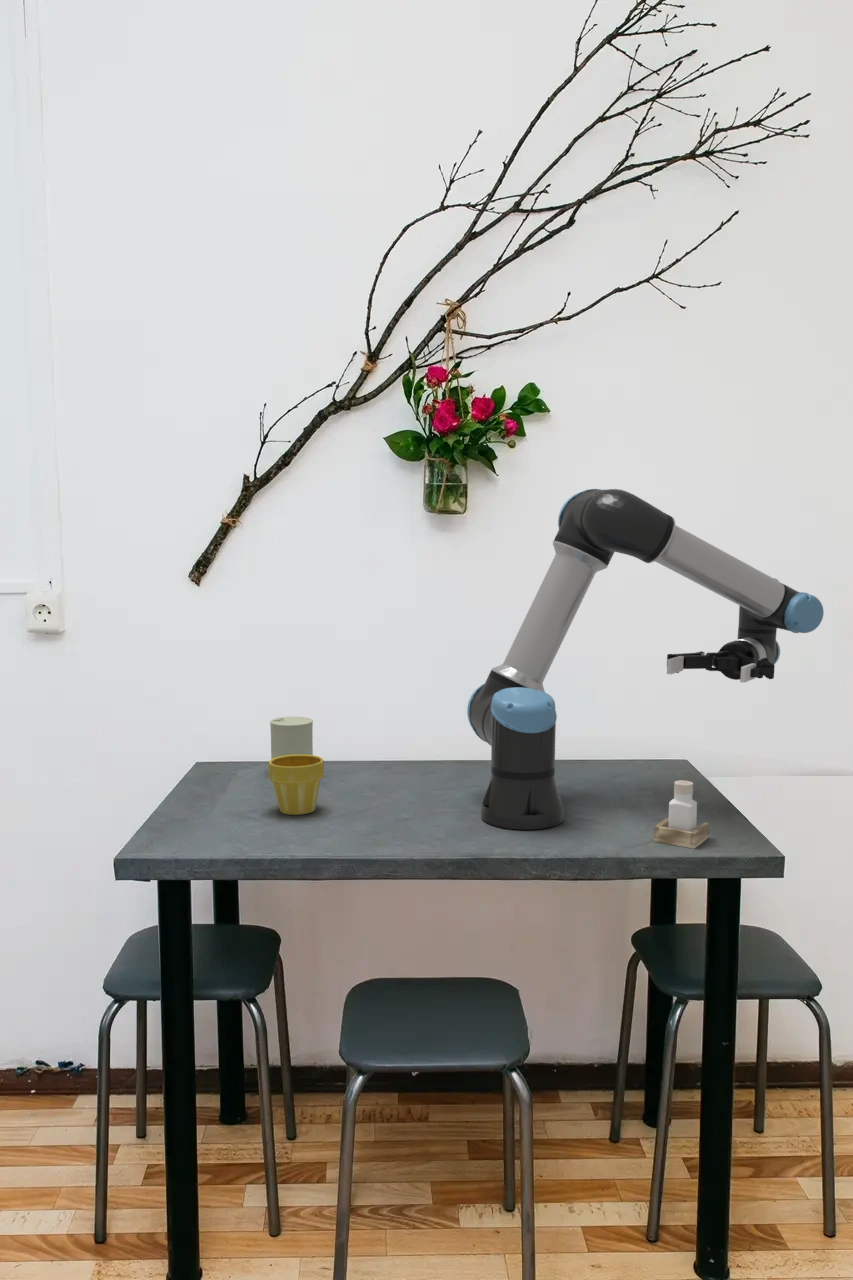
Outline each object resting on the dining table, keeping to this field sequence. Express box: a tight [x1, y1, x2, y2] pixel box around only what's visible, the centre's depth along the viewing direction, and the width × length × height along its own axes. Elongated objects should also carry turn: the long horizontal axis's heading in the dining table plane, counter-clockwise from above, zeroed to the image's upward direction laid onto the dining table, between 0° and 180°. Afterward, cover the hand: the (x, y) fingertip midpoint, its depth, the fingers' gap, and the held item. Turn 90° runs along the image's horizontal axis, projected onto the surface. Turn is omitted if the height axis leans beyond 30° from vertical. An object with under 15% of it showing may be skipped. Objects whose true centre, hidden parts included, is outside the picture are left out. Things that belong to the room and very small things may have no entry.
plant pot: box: [268, 754, 325, 816], centre depth 201 cm, size 10×10×10 cm
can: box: [269, 716, 314, 760], centre depth 229 cm, size 9×9×12 cm
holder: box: [653, 816, 710, 850], centre depth 184 cm, size 7×7×3 cm
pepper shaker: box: [668, 780, 698, 832], centre depth 184 cm, size 4×4×10 cm
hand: (705, 670), depth 192 cm, fingers open, 13 cm apart
